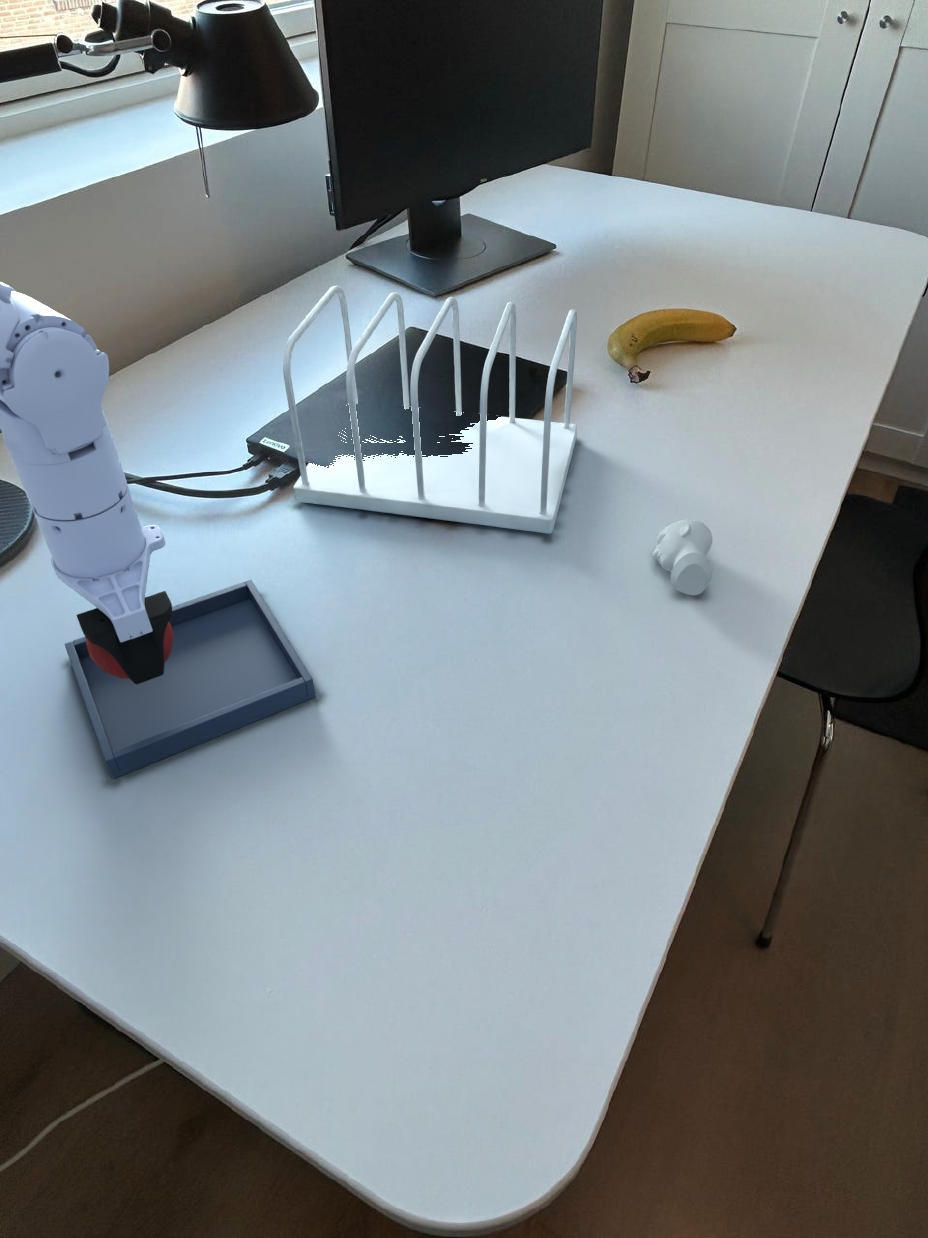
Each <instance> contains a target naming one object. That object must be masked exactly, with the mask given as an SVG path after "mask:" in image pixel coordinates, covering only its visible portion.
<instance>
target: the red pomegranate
mask: <svg viewBox="0 0 928 1238" xmlns="http://www.w3.org/2000/svg"><path fill="white" fill-rule="evenodd" d="M84 637H85V636H84ZM85 639H86V644H87V649H88V652H89V656H90V658H91V659H92V660H93V661H94V662H95V663H96V664H97V665H98V666H99V667H100V668H101V669H102V670H103V671H104V672H106V673H108V674H110V675H113V676H116V677H118V678H122V679H130V678H129V677H128V676H127V675H126V674H125V672H124V671H123V669H122V668H121V667H120V665H119V664H118V663H117V661H116V660H115V659H114V658H113V657H112V656H111V655H110V654H109V653H108V652H107V651H105V650H104V649H102V648H101V647H99V646H97V645H94V644H92V643H91V642H90V641H89V640H88V639H87V638H86V637H85ZM173 640H174V639H173V629H172V627H171V625H170V622H168V625H167V627H166V631H165V635H164V663H165V662H166V660H167V659H168V658H169V655H170V653H171V649H172V645H173Z"/></svg>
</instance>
